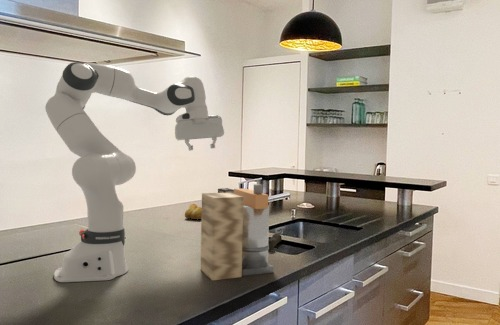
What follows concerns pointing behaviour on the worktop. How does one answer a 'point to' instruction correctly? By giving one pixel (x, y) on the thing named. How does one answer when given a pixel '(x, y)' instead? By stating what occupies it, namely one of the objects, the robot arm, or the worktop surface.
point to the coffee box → (225, 190)
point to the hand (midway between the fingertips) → (202, 149)
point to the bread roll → (194, 212)
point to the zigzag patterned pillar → (221, 235)
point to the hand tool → (274, 241)
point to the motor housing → (255, 241)
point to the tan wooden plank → (253, 197)
